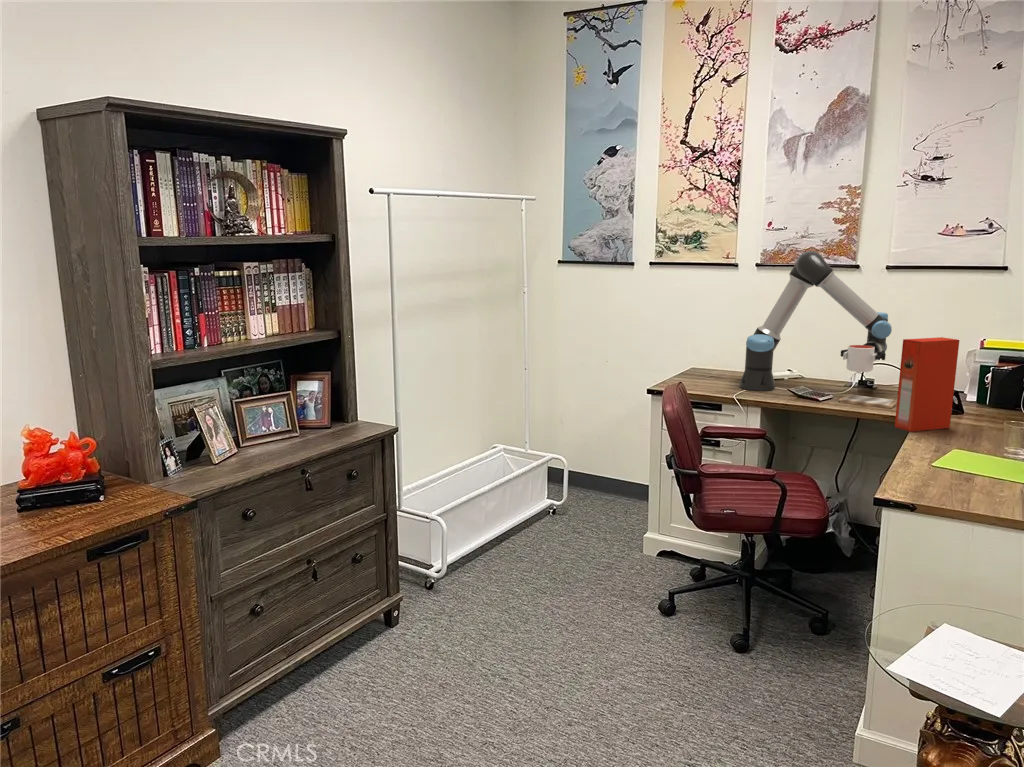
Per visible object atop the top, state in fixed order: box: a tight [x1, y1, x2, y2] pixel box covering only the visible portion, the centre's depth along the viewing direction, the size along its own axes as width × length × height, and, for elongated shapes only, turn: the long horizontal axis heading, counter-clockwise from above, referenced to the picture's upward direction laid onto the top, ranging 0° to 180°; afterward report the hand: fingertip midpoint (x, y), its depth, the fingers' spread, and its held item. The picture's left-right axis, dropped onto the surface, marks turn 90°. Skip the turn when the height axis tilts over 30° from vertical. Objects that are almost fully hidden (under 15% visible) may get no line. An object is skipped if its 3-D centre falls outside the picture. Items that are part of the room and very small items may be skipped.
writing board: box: [838, 393, 897, 409], centre depth 312 cm, size 20×14×1 cm
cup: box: [846, 344, 875, 373], centre depth 312 cm, size 10×10×10 cm
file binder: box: [894, 336, 960, 433], centre depth 269 cm, size 8×17×32 cm, turn 109°
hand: (858, 357), depth 309 cm, fingers closed on cup, 10 cm apart
